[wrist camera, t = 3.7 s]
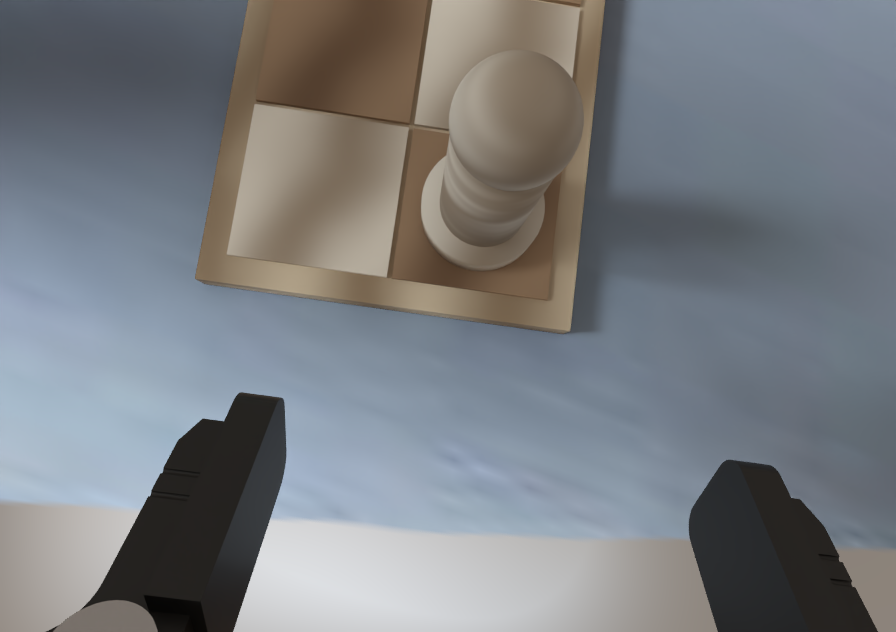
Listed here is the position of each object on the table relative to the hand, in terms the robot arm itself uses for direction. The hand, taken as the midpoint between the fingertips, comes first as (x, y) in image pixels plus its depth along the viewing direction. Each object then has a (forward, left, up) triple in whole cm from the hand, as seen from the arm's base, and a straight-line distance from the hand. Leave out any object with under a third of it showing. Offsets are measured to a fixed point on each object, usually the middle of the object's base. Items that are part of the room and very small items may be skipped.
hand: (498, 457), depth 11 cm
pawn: (0, +8, -12) cm, 15 cm away
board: (-3, +18, -14) cm, 23 cm away
